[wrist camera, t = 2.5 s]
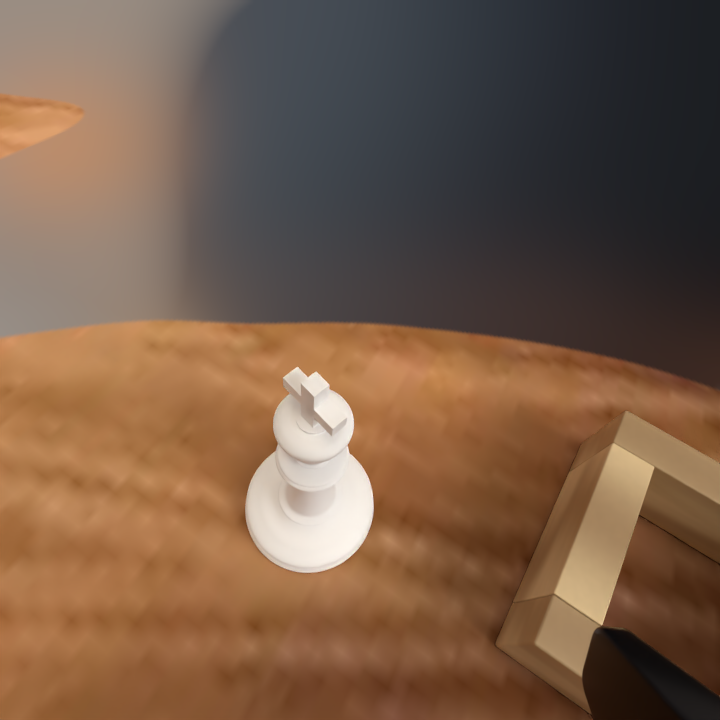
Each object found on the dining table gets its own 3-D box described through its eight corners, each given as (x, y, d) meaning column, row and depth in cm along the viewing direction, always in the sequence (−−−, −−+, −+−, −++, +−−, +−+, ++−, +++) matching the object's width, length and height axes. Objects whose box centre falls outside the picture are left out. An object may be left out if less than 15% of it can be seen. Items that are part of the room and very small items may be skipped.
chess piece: (316, 421, 21) (323, 260, 12) (399, 507, 19) (474, 393, 11) (219, 500, 19) (146, 373, 10) (303, 604, 17) (302, 558, 9)
